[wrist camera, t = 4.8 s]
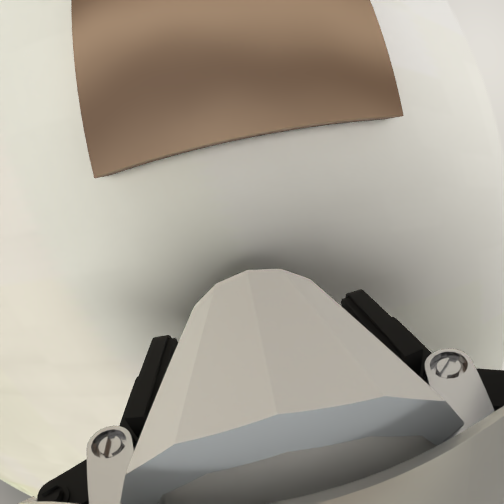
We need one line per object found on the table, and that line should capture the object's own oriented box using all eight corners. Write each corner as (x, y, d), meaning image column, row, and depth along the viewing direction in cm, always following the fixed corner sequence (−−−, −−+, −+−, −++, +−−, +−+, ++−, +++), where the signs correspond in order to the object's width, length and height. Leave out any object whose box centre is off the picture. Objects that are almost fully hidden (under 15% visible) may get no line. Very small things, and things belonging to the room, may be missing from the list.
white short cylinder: (344, 228, 10) (509, 326, 3) (356, 384, 12) (428, 512, 5) (141, 275, 10) (36, 434, 3) (200, 420, 11) (196, 566, 5)
